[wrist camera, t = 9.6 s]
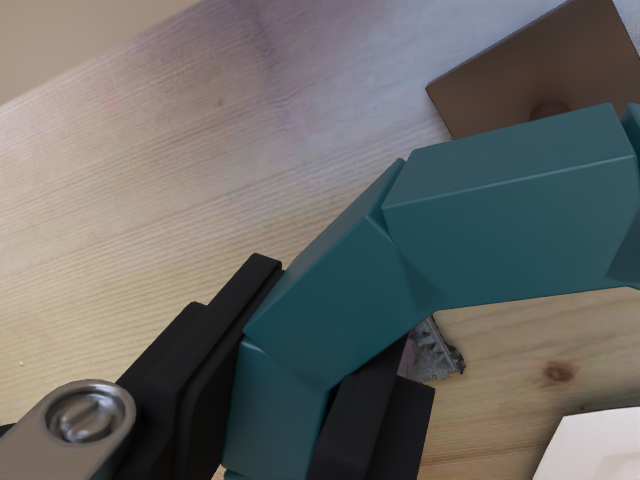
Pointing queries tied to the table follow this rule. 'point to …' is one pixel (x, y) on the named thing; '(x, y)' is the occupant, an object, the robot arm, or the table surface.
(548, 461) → the plate
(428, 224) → the ring
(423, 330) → the can on ragged base
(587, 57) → the post
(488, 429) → the table surface
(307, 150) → the table surface
